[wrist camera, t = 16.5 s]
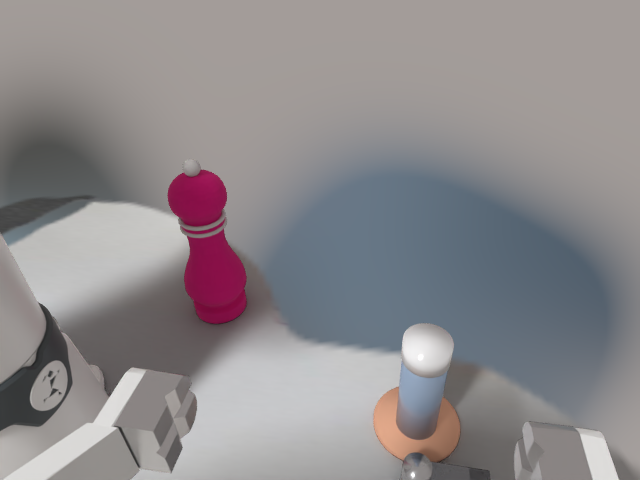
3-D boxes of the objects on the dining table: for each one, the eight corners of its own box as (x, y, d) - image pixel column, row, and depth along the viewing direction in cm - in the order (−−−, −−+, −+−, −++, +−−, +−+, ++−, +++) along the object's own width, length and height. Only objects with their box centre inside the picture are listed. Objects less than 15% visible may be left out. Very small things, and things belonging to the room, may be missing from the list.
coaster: (369, 457, 41) (369, 454, 41) (376, 382, 48) (377, 380, 47) (462, 471, 40) (463, 468, 40) (457, 393, 46) (457, 390, 46)
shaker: (393, 437, 42) (401, 358, 36) (395, 400, 45) (403, 320, 39) (438, 444, 42) (455, 364, 35) (437, 405, 45) (452, 326, 38)
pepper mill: (250, 283, 61) (227, 142, 49) (251, 323, 55) (225, 173, 43) (194, 290, 60) (158, 148, 49) (189, 331, 54) (146, 180, 43)
